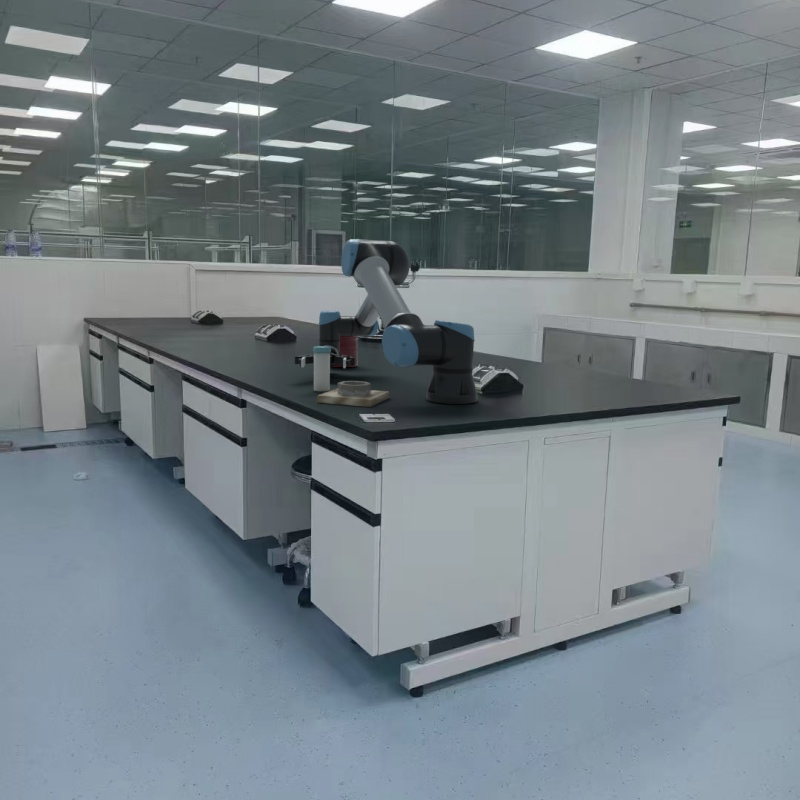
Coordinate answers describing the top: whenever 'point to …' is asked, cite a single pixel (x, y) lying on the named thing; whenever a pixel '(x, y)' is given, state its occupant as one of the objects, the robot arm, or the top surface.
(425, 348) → the robot arm
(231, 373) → the top surface
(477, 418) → the top surface
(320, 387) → the canister
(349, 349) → the canister
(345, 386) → the collar base
